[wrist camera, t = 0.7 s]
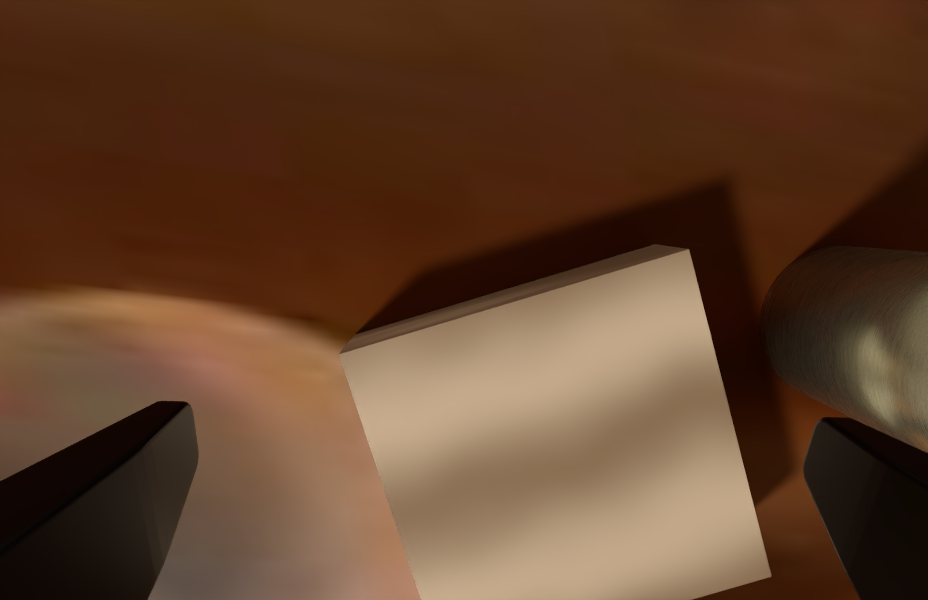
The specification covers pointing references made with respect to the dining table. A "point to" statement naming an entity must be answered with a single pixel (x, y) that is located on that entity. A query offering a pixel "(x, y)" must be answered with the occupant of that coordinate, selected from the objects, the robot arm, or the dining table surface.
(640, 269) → the base block
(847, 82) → the dining table surface
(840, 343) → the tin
